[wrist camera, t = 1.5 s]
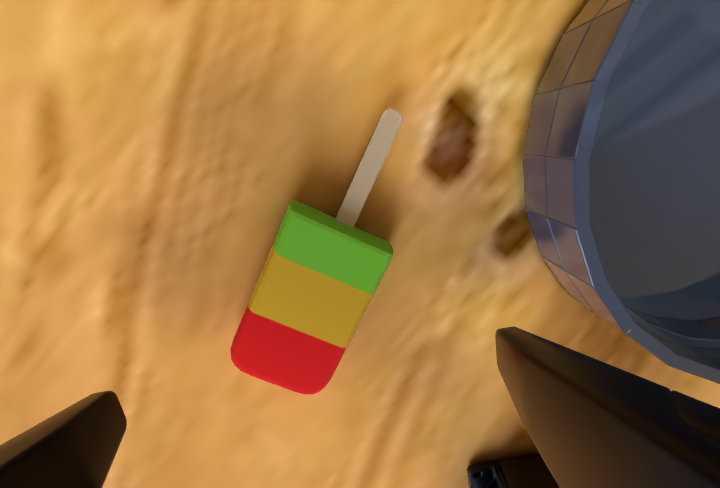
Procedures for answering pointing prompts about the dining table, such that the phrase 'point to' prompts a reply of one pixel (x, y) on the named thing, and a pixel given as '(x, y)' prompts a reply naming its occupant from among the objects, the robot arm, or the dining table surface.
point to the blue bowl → (634, 173)
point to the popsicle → (315, 284)
